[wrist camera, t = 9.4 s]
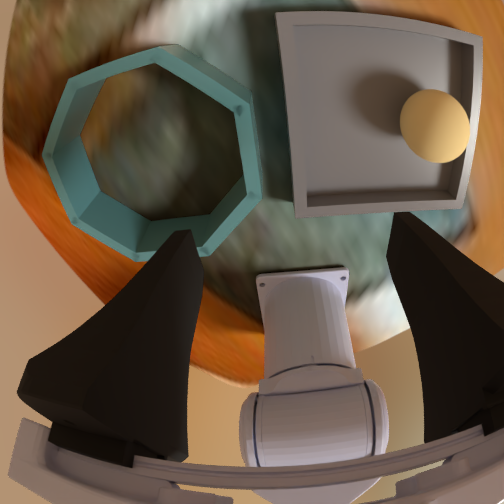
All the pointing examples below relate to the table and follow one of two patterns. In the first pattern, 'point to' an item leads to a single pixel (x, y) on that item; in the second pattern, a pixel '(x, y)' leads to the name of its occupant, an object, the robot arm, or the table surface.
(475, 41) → the tray
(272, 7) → the table surface
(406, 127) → the ball
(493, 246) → the table surface
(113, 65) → the teal octagonal ring
